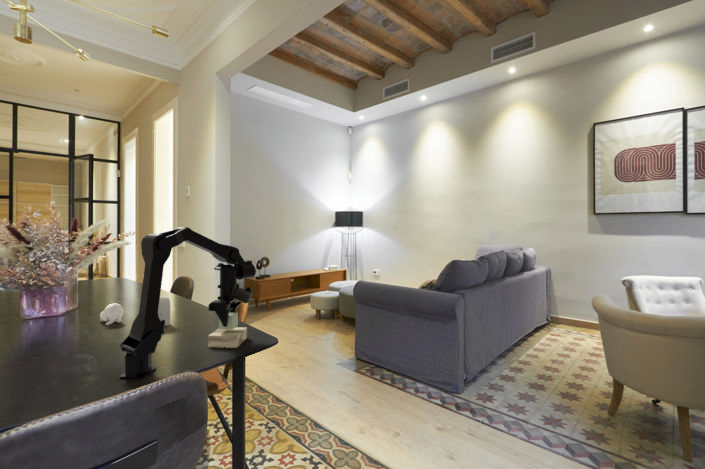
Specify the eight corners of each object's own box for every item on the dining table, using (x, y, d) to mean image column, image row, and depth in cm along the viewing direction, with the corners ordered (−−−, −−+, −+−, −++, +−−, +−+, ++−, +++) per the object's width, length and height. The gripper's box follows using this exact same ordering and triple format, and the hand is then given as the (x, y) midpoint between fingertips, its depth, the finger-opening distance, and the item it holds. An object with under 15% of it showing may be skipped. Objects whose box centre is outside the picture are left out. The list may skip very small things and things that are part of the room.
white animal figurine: (108, 305, 135) (93, 304, 141) (109, 326, 135) (94, 324, 141) (124, 302, 141) (110, 301, 146) (126, 322, 140) (111, 320, 146)
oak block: (236, 347, 113) (236, 336, 113) (208, 347, 114) (208, 335, 114) (246, 337, 123) (246, 327, 123) (220, 337, 124) (220, 326, 124)
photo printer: (170, 323, 141) (169, 294, 140) (170, 325, 137) (170, 296, 137) (141, 327, 135) (141, 297, 135) (141, 329, 131) (141, 299, 131)
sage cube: (232, 329, 116) (232, 315, 116) (218, 329, 116) (218, 315, 116) (237, 325, 121) (237, 311, 121) (224, 325, 121) (224, 311, 121)
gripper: (240, 286, 108) (240, 333, 109) (258, 277, 127) (258, 317, 127) (207, 286, 109) (207, 332, 109) (230, 277, 127) (230, 317, 128)
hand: (228, 324), depth 118 cm, fingers closed on sage cube, 5 cm apart
